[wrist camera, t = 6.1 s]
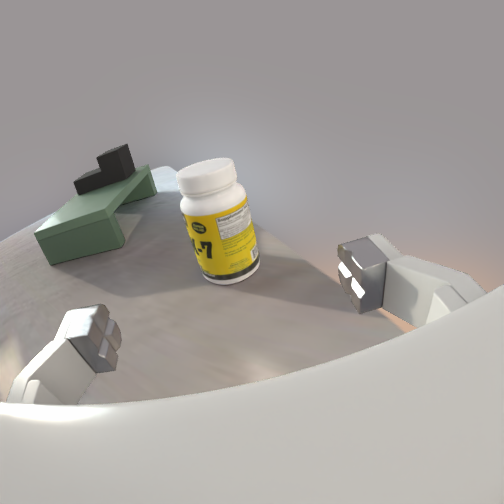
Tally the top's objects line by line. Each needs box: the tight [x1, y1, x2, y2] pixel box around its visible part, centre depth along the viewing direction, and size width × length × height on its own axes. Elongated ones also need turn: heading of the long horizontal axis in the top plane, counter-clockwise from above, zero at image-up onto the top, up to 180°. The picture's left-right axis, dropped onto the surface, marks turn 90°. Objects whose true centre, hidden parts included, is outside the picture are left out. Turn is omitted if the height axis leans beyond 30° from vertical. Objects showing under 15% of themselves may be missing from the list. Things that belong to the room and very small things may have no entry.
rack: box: [34, 165, 157, 265], centre depth 38 cm, size 12×18×5 cm, turn 3°
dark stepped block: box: [74, 144, 136, 196], centre depth 39 cm, size 9×4×5 cm, turn 93°
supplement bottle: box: [176, 158, 260, 285], centre depth 21 cm, size 5×5×8 cm
